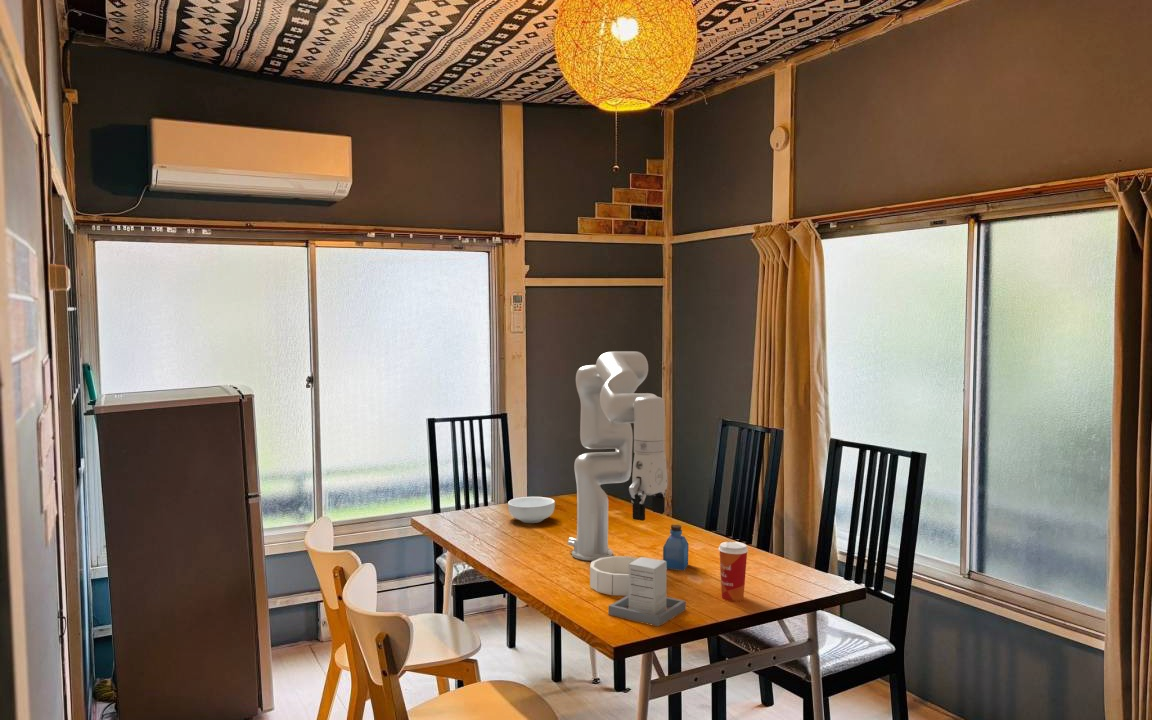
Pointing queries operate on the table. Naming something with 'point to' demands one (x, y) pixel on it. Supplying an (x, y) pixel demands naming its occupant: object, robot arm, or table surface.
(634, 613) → the gray square frame
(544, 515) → the cereal bowl
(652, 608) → the supplement box
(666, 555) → the perfume bottle
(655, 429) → the robot arm
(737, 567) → the paper cup
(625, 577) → the bowl
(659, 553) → the table surface
